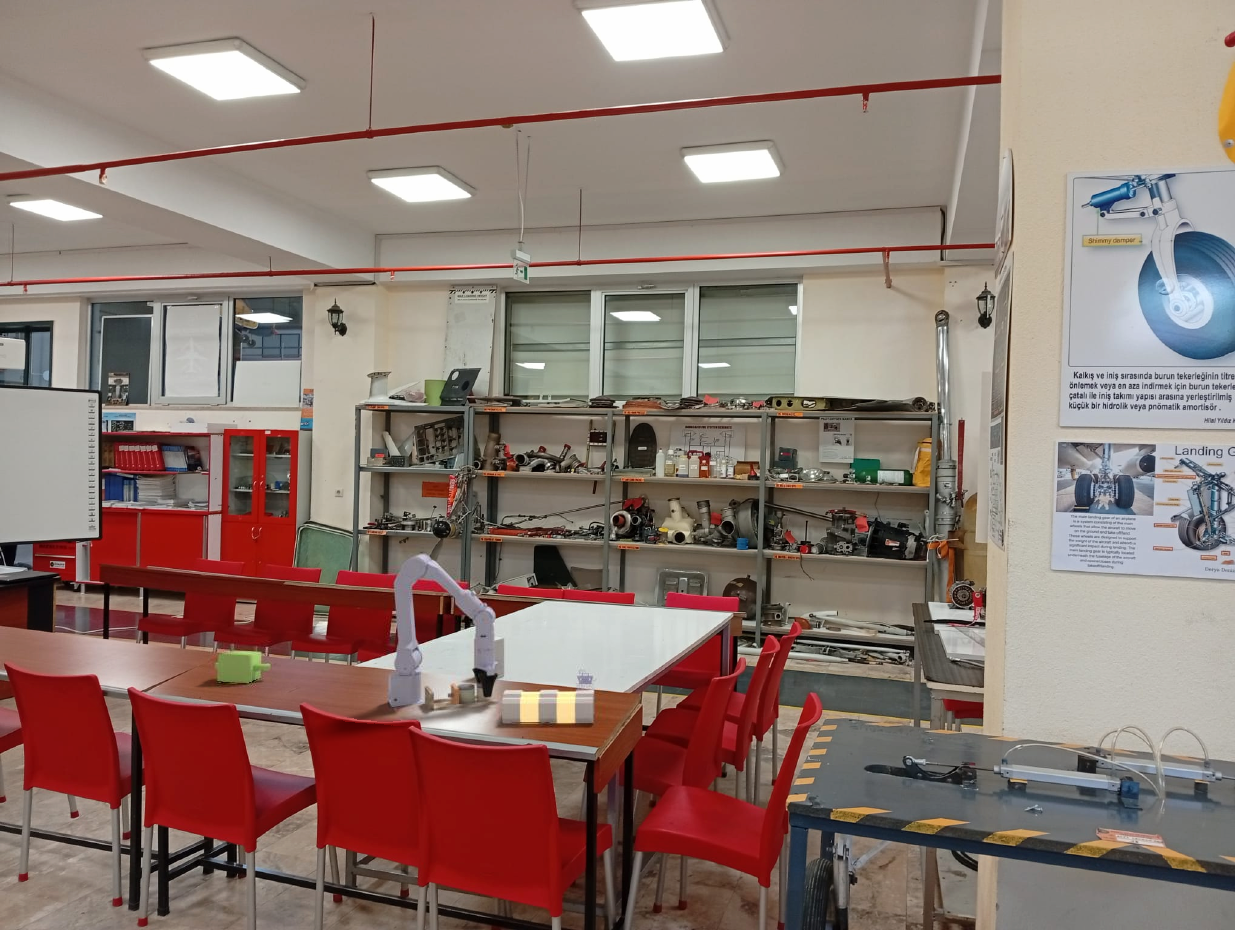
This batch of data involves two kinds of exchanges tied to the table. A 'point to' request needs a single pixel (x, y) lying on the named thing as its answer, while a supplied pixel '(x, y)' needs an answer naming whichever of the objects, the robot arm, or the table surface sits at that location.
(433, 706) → the lane
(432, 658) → the table surface
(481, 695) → the cream jar
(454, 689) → the pusher
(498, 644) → the small box
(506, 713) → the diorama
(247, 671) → the gearbox
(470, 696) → the green jar
